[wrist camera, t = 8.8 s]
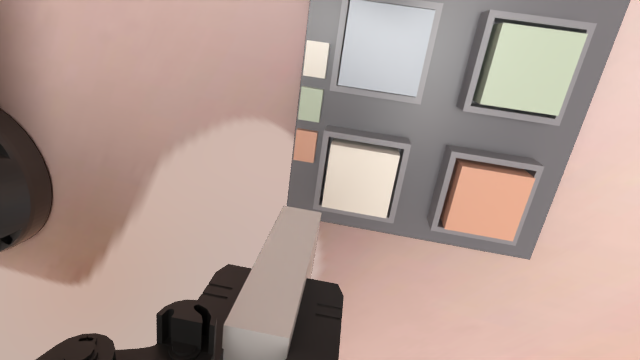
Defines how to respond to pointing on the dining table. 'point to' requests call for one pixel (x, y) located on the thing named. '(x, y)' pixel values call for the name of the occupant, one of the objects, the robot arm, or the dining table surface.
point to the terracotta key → (486, 199)
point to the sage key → (528, 68)
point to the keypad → (445, 115)
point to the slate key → (385, 47)
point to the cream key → (360, 177)
